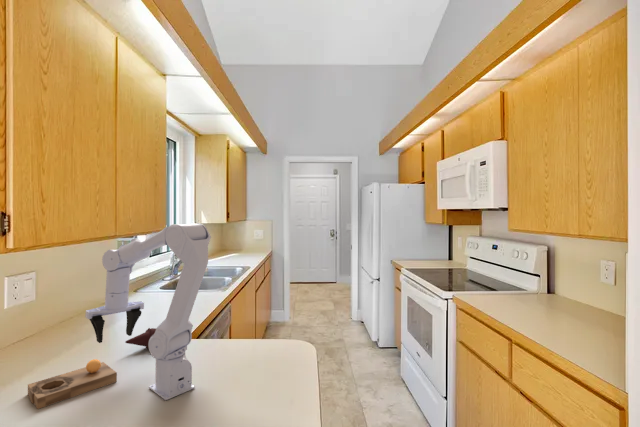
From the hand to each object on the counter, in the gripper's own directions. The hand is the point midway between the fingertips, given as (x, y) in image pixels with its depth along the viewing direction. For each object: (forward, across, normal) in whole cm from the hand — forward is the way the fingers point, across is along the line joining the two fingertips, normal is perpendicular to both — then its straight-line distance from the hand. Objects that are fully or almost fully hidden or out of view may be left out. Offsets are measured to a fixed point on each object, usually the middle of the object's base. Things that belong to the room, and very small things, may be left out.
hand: (114, 338), depth 97 cm
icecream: (+11, -15, -10) cm, 21 cm away
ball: (+6, +5, +1) cm, 8 cm away
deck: (+10, +10, +1) cm, 14 cm away
